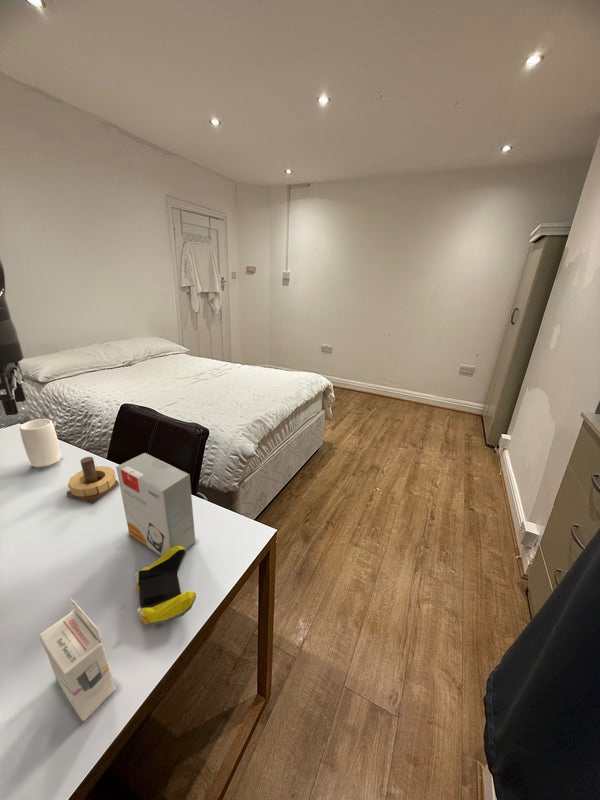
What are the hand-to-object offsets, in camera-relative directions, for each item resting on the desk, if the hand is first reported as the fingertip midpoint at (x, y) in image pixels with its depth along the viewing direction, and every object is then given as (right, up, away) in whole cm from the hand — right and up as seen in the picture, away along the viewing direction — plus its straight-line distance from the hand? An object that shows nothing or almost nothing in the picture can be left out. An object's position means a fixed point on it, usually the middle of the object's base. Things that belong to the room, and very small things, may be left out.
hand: (16, 407), depth 77 cm
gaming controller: (+41, -38, -13) cm, 57 cm away
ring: (+8, -23, +16) cm, 29 cm away
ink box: (+35, -43, -27) cm, 62 cm away
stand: (+8, -24, +16) cm, 30 cm away
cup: (-14, -19, +27) cm, 36 cm away
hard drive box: (+35, -32, +1) cm, 47 cm away
